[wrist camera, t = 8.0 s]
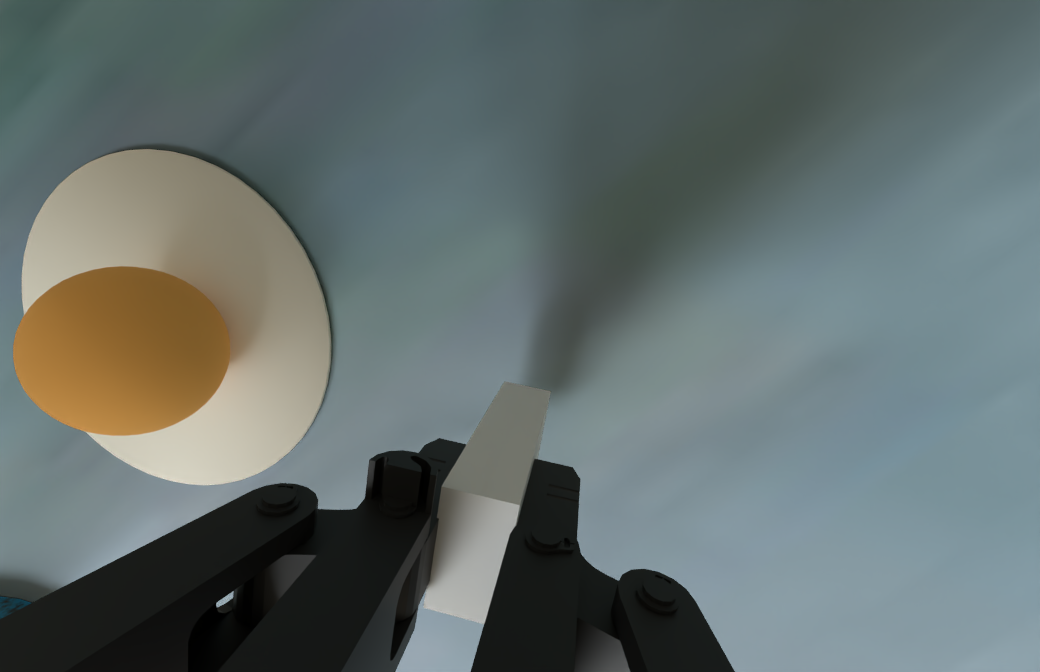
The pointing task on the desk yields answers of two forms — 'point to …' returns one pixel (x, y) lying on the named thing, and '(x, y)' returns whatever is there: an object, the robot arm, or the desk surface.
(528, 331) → the desk surface
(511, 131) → the desk surface
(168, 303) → the ball
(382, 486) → the robot arm
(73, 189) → the disc
